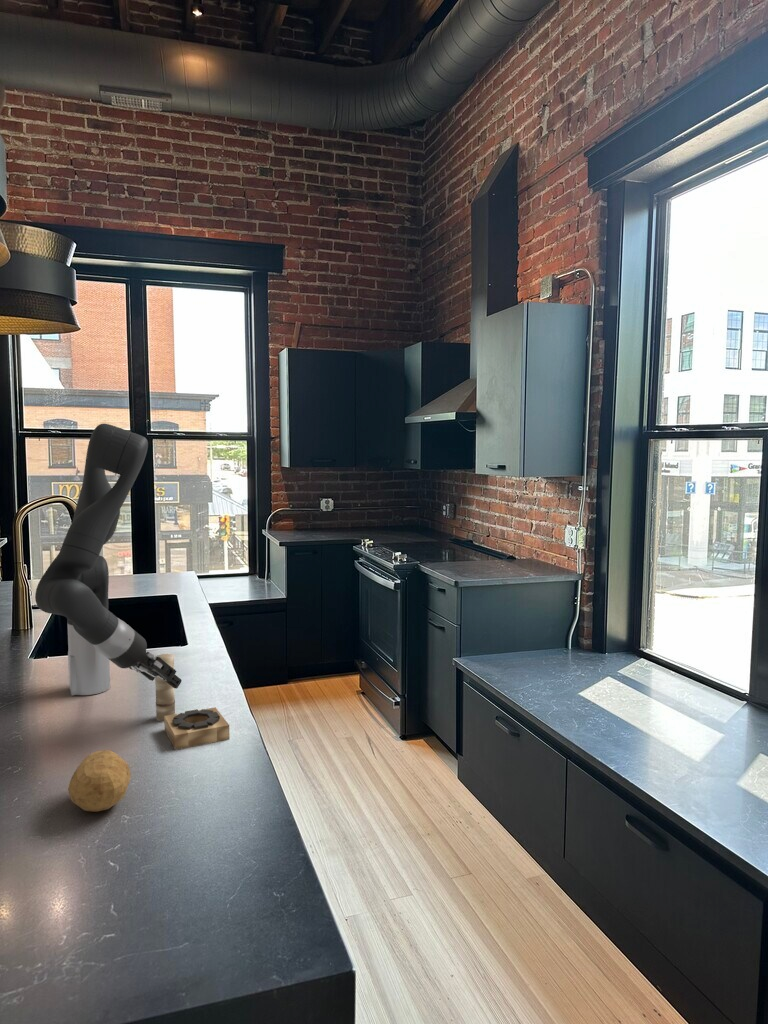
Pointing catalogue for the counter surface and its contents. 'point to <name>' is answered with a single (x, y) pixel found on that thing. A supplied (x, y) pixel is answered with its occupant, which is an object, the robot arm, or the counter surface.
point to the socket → (196, 728)
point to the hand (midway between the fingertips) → (166, 680)
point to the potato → (99, 781)
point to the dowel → (165, 692)
